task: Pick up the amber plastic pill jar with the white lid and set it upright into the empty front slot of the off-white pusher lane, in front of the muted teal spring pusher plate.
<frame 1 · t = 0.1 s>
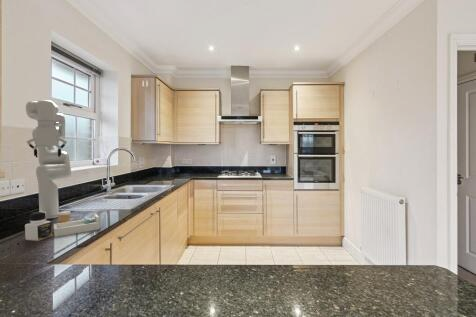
hand: (47, 157, 144), 37 cm above the counter, tool pointing down, fingers open, 9 cm apart
pusher: (90, 221, 141), point 3 cm above the counter, slide at 0.0 cm
lane: (76, 230, 138), on the counter
jar: (64, 226, 145), on the counter
medicine bottle: (38, 238, 126), on the counter
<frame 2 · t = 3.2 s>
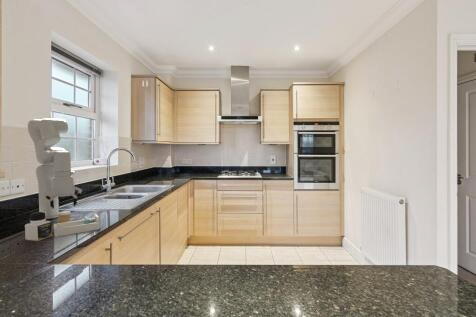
hand: (63, 206, 145), 10 cm above the counter, tool pointing down, fingers open, 9 cm apart
nothing on the counter moved.
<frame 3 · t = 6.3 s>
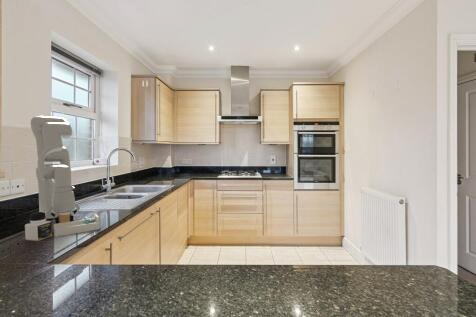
hand: (64, 223, 145), 1 cm above the counter, tool pointing down, fingers closed on jar, 5 cm apart
jar: (64, 226, 145), on the counter, touching gripper
everything else where it was.
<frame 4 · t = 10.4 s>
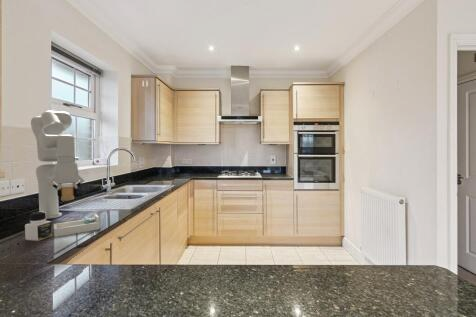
hand: (67, 196, 135), 17 cm above the counter, tool pointing down, fingers closed on jar, 5 cm apart
jar: (67, 199, 135), point 16 cm above the counter, touching gripper
everything else where it was.
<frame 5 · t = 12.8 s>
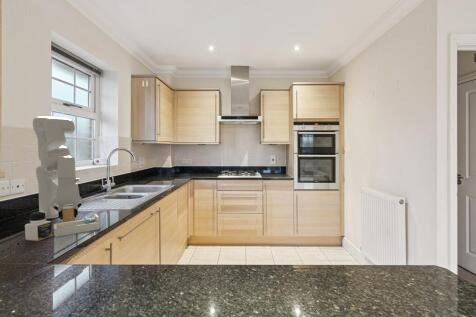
hand: (68, 217, 136), 7 cm above the counter, tool pointing down, fingers closed on jar, 5 cm apart
jar: (68, 220, 136), point 5 cm above the counter, touching gripper
everything else where it was.
when the fingers open (4 cm above the counter, at t = 14.8 s): jar drops 1 cm, resting on lane.
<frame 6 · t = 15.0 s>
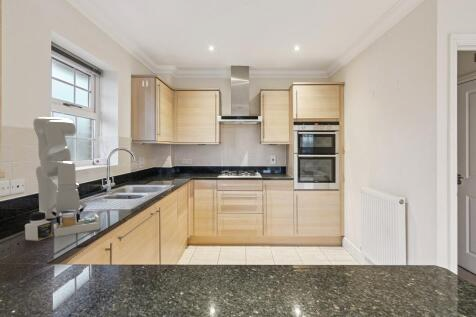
hand: (68, 222, 136), 4 cm above the counter, tool pointing down, fingers open, 7 cm apart
jar: (68, 229, 136), point 1 cm above the counter, touching lane
everything else where it was.
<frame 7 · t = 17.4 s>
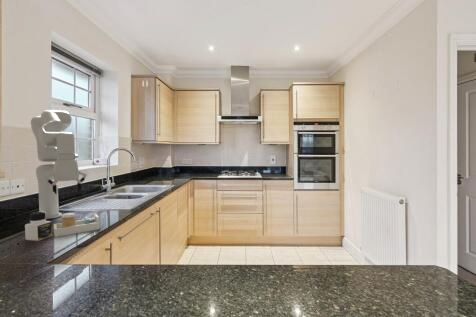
hand: (67, 192, 135), 20 cm above the counter, tool pointing down, fingers open, 9 cm apart
nothing on the counter moved.
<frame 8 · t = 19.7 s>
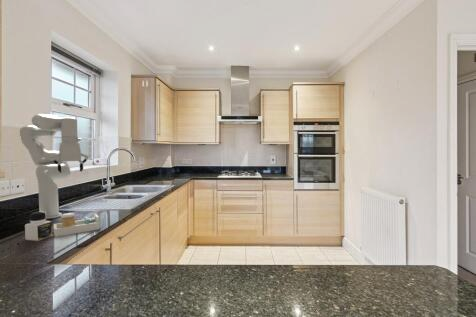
hand: (70, 171, 149), 28 cm above the counter, tool pointing down, fingers open, 9 cm apart
nothing on the counter moved.
at the end: jar inside the target area on the lane (0.5 cm from its centre), point 1.0 cm above the lane's base; jar tilted 1°; the gripper is holding nothing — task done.
